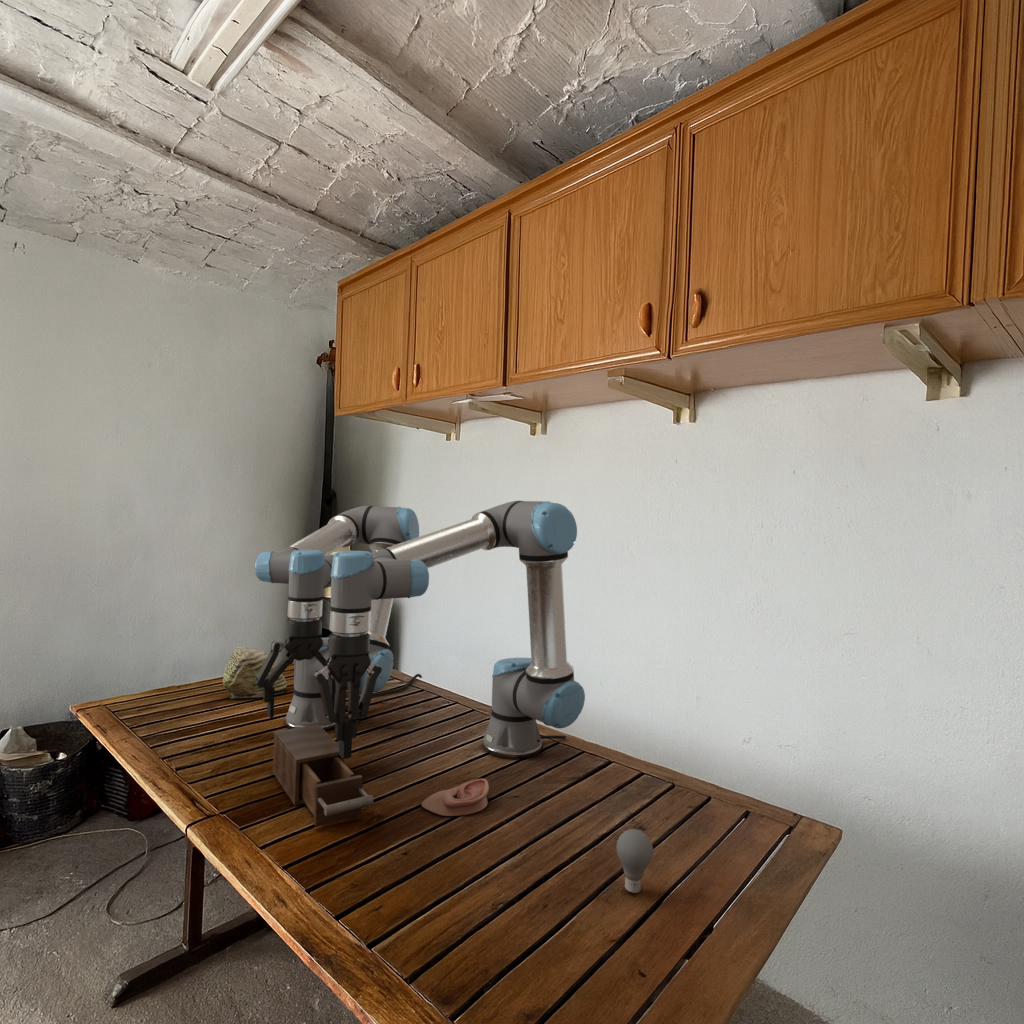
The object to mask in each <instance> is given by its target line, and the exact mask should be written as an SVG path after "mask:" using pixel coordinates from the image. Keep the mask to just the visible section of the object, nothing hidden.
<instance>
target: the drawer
mask: <svg viewBox="0 0 1024 1024" xmlns="http://www.w3.org/2000/svg"><path fill="white" fill-rule="evenodd" d="M299 795H300V797H301V798H302V800H303V801H304V802H305V803H304V804H305V805H306V807H307V808H308V809H309V811H310V812H311V814H312V816H313V825H314V827H316V828H317V827H321V826H324V825H329V824H332V823H335V822H340V821H344V820H348V819H352V818H355V817H359V816H362V808H364V807H367V806H373V804H374V802H375V801H374V796H373V795H372V794H367V792H366V791H365V790H364V789H363V775H361V774H358V775H355V773H354V772H353V771H352V770H351V769H350V768H349V767H348V766H347V764H345V762H344V763H343V762H342V761H341V759H340V758H339V757H338V756H333V757H328V758H323V759H318V760H313V761H308V762H303V763H300V781H299Z"/></svg>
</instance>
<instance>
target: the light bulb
mask: <svg viewBox="0 0 1024 1024" xmlns="http://www.w3.org/2000/svg"><path fill="white" fill-rule="evenodd" d="M615 849H616V854H617V857H618V859H619V861H620V863H621V865H622V867H623V873H624V874H623V875H624V876H625V878H624V888H625V890H627V891H628V892H630V893H634V894H635V893H639V892H640V891H641V889H642V887H641V886H642V879H643V877H644V875H645V871H646V868H647V867H648V866H649V864H650V863H651V861H652V859H653V855H654V847H653V843H652V841H651V838H649V836H648V835H647V834H646V833H645V832H643V831H642V830H641V829H636V828H629V829H627V830H625V831H623V832H622V833H621V834H620V835H619V837H618V839H617V841H616V847H615Z"/></svg>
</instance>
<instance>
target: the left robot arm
mask: <svg viewBox="0 0 1024 1024" xmlns="http://www.w3.org/2000/svg"><path fill="white" fill-rule="evenodd" d="M417 537H420V524H419V519H418V517H417V514H416V512H415V511H414V510H413V508H409V507H401V506H379V505H361V506H357V507H354V508H351V509H348V510H345V511H343V512H341V513H339V514H336V515H335V516H332V518H330V519H329V521H328V522H327V524H326V525H324V526H322V527H321V528H319V529H317V530H316V531H313V532H312V533H309V534H308V535H307V536H305V537H303V538H301V539H299V540H298V541H296V542H294V543H292V544H291V545H289V546H286V547H285V548H283V549H282V550H280V551H279V550H278V551H273V550H272V551H263V552H261V553H260V554H259V555H258V556H257V558H256V559H255V563H254V573H255V576H256V578H257V579H258V580H259V581H260V582H264V583H265V582H266V583H271V584H285V585H288V599H287V617H288V620H287V621H286V639H285V641H284V642H282V641H277V640H273V641H271V645H270V651H269V653H268V654H267V655H268V656H267V658H266V660H265V662H264V664H263V666H262V668H261V670H260V671H259V673H258V675H257V677H256V679H255V683H256V685H257V686H259V687H260V686H261V687H263V697H262V700H263V702H264V703H266V704H267V705H266V715H267V716H268V718H269V719H274V717H275V715H274V714H275V695H274V693H275V688H274V687H273V686H272V685H273V684H274V682H275V681H276V680H277V679H278V678H279V676H280V675H281V674H282V675H283V673H284V672H285V671H286V670H287V668H288V667H289V666H290V665H291V664H293V662H294V672H293V695H292V696H293V697H292V699H291V702H290V704H289V708H288V711H287V713H286V715H285V726H286V728H287V729H293V728H299V727H305V726H311V725H317V724H319V725H320V726H321V727H322V728H323V729H324V730H325V731H329V730H332V729H335V723H334V722H333V723H331V722H330V721H329V720H328V719H327V718H326V717H325V712H324V708H323V703H322V698H321V693H320V689H319V684H318V682H317V680H316V679H315V677H314V676H313V673H314V672H315V671H320V670H321V669H322V668H324V667H325V666H326V661H327V659H328V657H329V635H328V636H327V637H322V634H323V633H322V632H323V631H322V630H323V619H321V618H322V617H323V607H324V606H323V605H324V604H323V601H324V589H327V588H331V571H332V562H333V557H334V555H335V554H333V553H335V552H337V551H338V550H339V549H341V548H347V547H350V546H352V545H357V544H358V545H368V548H369V549H370V552H371V553H372V552H375V551H378V550H382V549H385V548H388V547H391V546H394V545H396V544H399V543H402V542H405V541H408V540H411V539H414V538H417ZM394 599H395V598H391V599H378V600H372V602H371V619H370V630H369V631H368V632H367V633H369V635H370V646H369V657H370V659H371V663H373V664H376V665H378V666H380V667H381V668H382V671H381V673H380V674H379V676H378V678H377V679H376V683H375V687H374V691H373V695H372V698H373V697H380V696H384V695H390V694H394V693H399V692H400V691H404V690H406V689H407V688H408V687H409V686H410V684H412V683H413V682H414V681H415V680H416V679H417V678H419V679H422V678H423V676H422V674H421V673H416V674H415V675H414V676H413V677H411V679H410V680H409V681H407V683H406V684H405V685H403V686H400V687H399V688H394V689H390V690H384V691H381V690H382V689H383V688H384V687H385V686H386V685H387V684H388V682H389V680H390V677H391V675H392V672H393V668H394V654H393V651H392V650H390V643H389V642H388V640H387V638H386V636H387V631H388V627H389V622H390V617H391V612H392V608H393V602H394ZM283 649H285V650H286V653H285V654H284V655H283V656H282V659H281V660H280V661H279V662H278V663H277V665H276V667H275V668H274V670H273V671H272V672H271V673H270V674H269V676H268V677H267V675H268V673H269V672H270V670H271V668H272V666H273V664H274V663H275V662H276V660H277V658H278V656H279V655H280V654H279V653H281V652H282V650H283ZM366 675H367V670H366V671H365V673H364V674H363V676H362V677H361V685H360V687H359V693H362V689H363V686H364V682H365V678H366ZM328 676H329V678H328V680H327V682H328V684H329V688H330V693H331V697H332V702H333V707H334V712H335V696H336V685H335V679H334V677H333V676H332V675H331V673H330V672H329V673H328ZM266 677H267V678H266ZM346 691H349V683H348V686H347V689H346ZM360 697H361V694H359V700H360ZM346 709H347V710H348V704H346Z"/></svg>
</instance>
